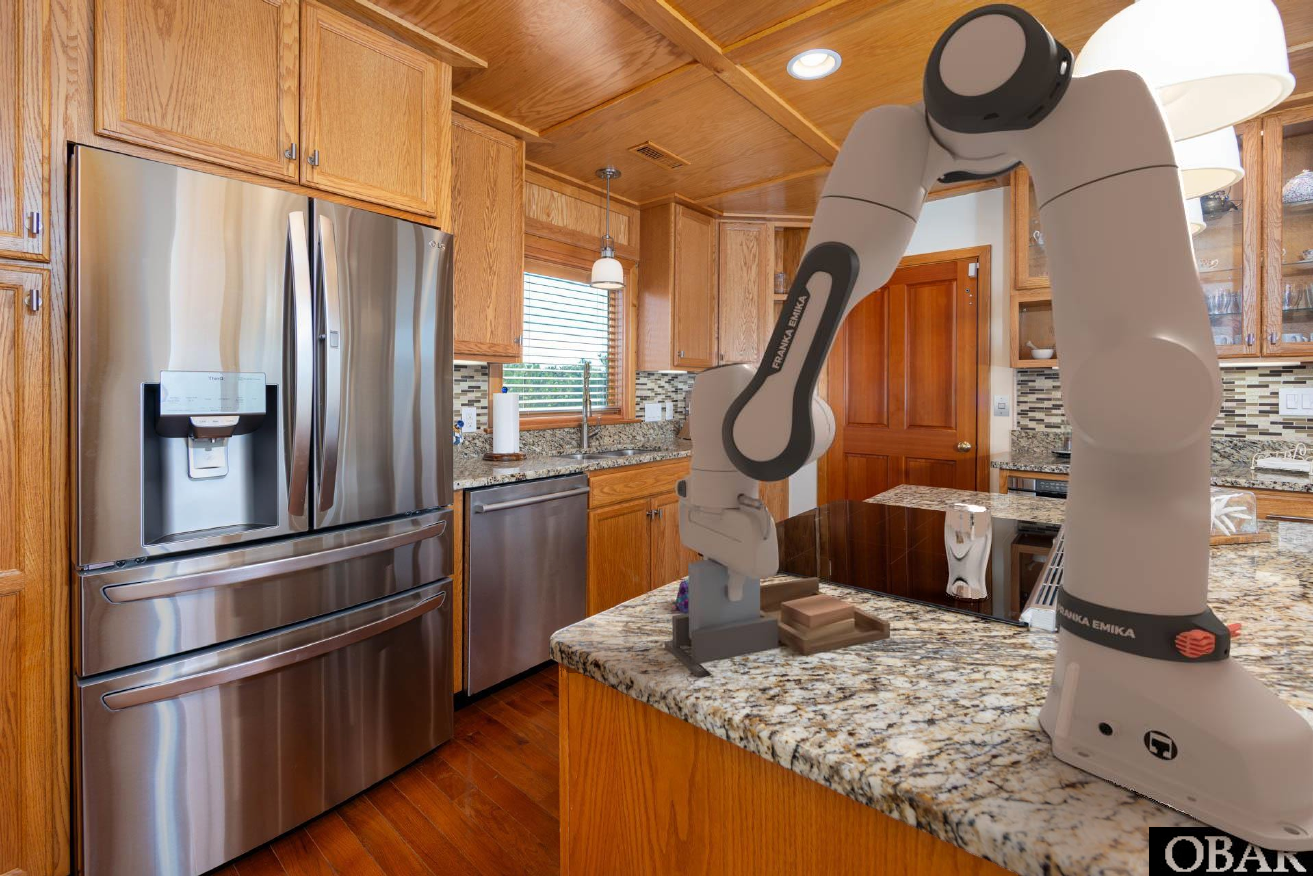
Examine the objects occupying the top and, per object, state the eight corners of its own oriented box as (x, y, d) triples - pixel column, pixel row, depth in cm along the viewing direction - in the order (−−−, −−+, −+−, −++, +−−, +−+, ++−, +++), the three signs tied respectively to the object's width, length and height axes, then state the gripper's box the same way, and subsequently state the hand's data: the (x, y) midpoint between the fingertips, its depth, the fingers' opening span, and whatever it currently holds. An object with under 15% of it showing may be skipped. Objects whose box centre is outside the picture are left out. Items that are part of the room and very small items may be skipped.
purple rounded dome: (646, 621, 95) (646, 587, 94) (680, 598, 105) (680, 568, 105) (720, 635, 89) (720, 599, 89) (748, 609, 100) (748, 577, 99)
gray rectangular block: (760, 634, 82) (760, 560, 82) (699, 645, 79) (698, 568, 78) (748, 626, 85) (748, 554, 84) (688, 637, 82) (688, 562, 81)
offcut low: (854, 632, 86) (854, 619, 86) (806, 641, 83) (806, 628, 83) (826, 618, 92) (826, 606, 91) (780, 626, 88) (780, 614, 88)
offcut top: (854, 618, 86) (854, 605, 86) (810, 629, 83) (810, 615, 82) (823, 605, 92) (823, 593, 92) (780, 615, 88) (780, 602, 88)
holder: (788, 658, 80) (788, 622, 80) (698, 678, 75) (697, 639, 75) (747, 631, 89) (747, 599, 89) (664, 647, 84) (664, 612, 84)
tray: (889, 644, 84) (890, 608, 84) (804, 663, 79) (804, 624, 78) (815, 608, 99) (815, 577, 98) (739, 621, 93) (739, 588, 93)
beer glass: (1000, 600, 101) (1002, 509, 100) (968, 605, 99) (970, 512, 98) (964, 587, 108) (966, 502, 107) (934, 593, 105) (935, 505, 104)
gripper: (792, 499, 72) (791, 616, 73) (709, 478, 91) (709, 571, 92) (745, 504, 70) (745, 624, 71) (670, 481, 89) (671, 576, 90)
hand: (724, 594), depth 82 cm, fingers closed on gray rectangular block, 3 cm apart
